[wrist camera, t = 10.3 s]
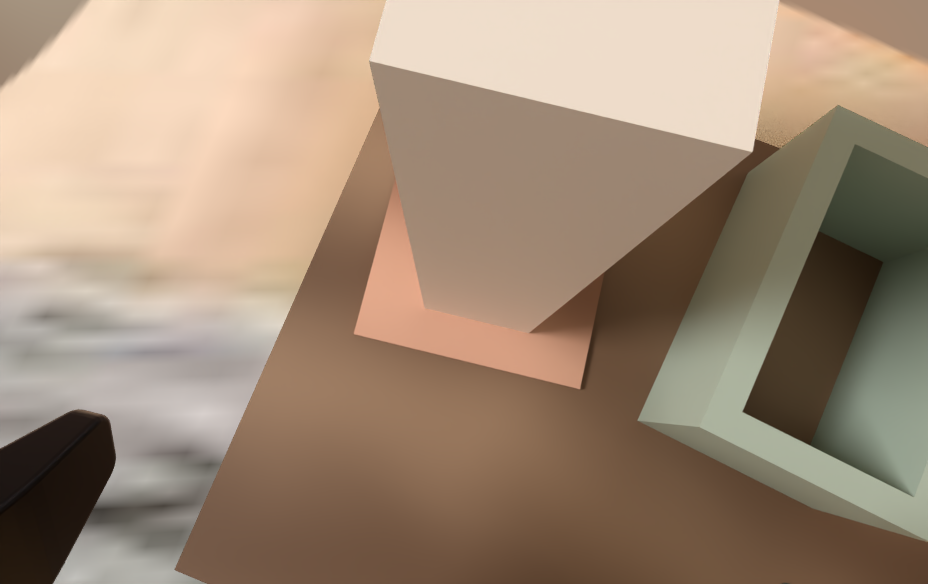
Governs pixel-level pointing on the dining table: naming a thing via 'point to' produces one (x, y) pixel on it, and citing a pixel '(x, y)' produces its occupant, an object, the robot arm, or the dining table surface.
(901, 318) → the slot box
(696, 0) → the tall beige block
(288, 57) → the dining table surface
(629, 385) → the walnut board
